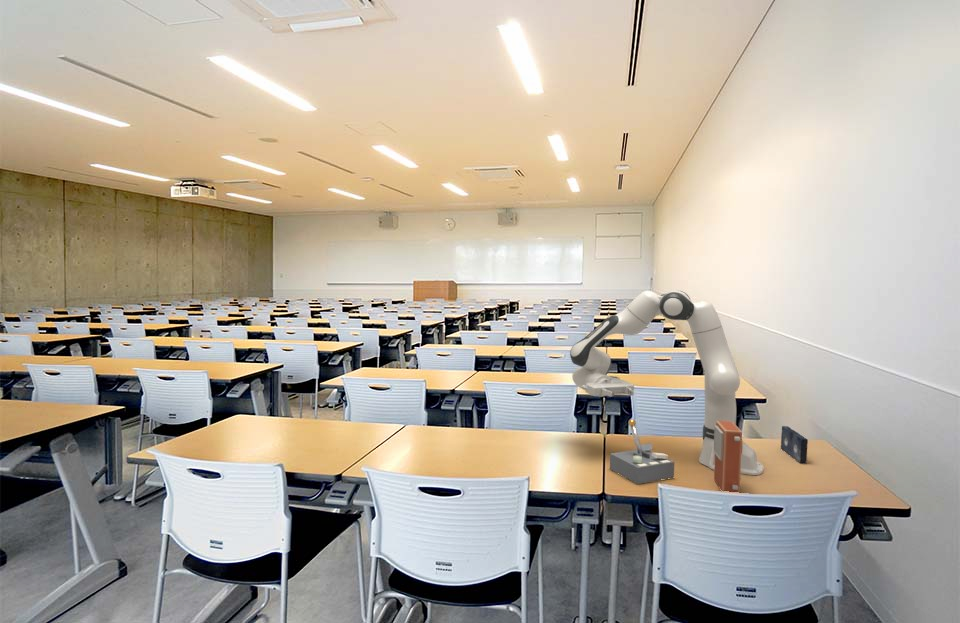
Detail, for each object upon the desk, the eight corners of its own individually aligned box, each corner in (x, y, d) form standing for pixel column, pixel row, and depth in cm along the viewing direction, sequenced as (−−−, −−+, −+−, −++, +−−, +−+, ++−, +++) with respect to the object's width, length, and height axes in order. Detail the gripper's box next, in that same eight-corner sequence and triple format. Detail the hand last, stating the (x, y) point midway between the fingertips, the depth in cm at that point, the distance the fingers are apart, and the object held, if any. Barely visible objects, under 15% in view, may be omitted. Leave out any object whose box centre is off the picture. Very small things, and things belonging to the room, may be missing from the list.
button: (631, 461, 190) (631, 456, 190) (638, 460, 191) (638, 455, 191) (636, 464, 187) (637, 458, 187) (643, 463, 188) (643, 457, 188)
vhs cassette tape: (806, 464, 206) (808, 439, 206) (798, 464, 207) (799, 438, 206) (788, 449, 224) (789, 426, 224) (780, 449, 225) (781, 425, 224)
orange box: (731, 479, 190) (743, 496, 175) (710, 478, 191) (720, 494, 177) (733, 420, 188) (745, 432, 174) (712, 419, 190) (722, 431, 175)
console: (609, 469, 199) (610, 449, 199) (644, 463, 205) (644, 444, 205) (637, 484, 185) (638, 463, 184) (673, 478, 191) (674, 457, 190)
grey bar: (639, 451, 200) (637, 445, 201) (651, 449, 202) (649, 444, 203) (640, 451, 199) (639, 445, 200) (652, 449, 201) (651, 443, 202)
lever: (635, 454, 196) (626, 420, 200) (641, 453, 196) (631, 420, 201) (640, 453, 193) (630, 419, 198) (645, 452, 194) (636, 418, 199)
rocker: (651, 455, 193) (652, 452, 193) (662, 456, 195) (663, 453, 195) (656, 458, 190) (657, 454, 190) (667, 458, 192) (668, 455, 192)
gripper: (579, 378, 212) (601, 387, 199) (621, 376, 220) (644, 384, 208) (578, 393, 212) (599, 403, 200) (619, 391, 221) (642, 400, 208)
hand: (622, 393), depth 204 cm, fingers open, 8 cm apart
